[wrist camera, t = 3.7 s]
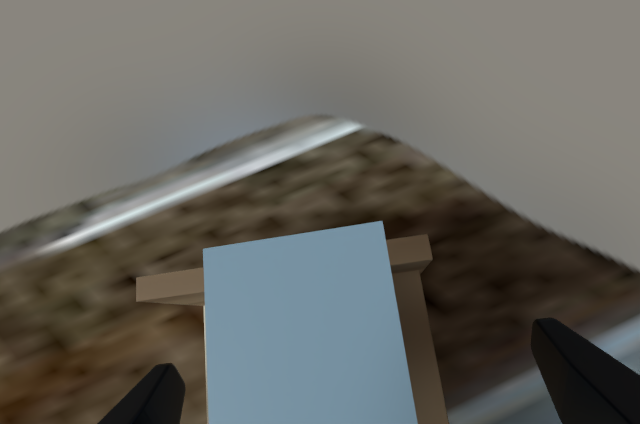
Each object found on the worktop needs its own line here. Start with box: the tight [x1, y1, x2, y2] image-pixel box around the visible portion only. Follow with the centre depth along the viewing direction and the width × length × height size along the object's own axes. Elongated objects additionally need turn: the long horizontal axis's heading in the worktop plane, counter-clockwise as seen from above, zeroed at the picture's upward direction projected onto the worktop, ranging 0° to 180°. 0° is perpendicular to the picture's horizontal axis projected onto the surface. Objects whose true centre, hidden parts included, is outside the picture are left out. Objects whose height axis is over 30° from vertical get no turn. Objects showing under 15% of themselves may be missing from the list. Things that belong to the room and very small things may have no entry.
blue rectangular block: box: [203, 221, 418, 424], centre depth 10 cm, size 5×2×12 cm, turn 7°
